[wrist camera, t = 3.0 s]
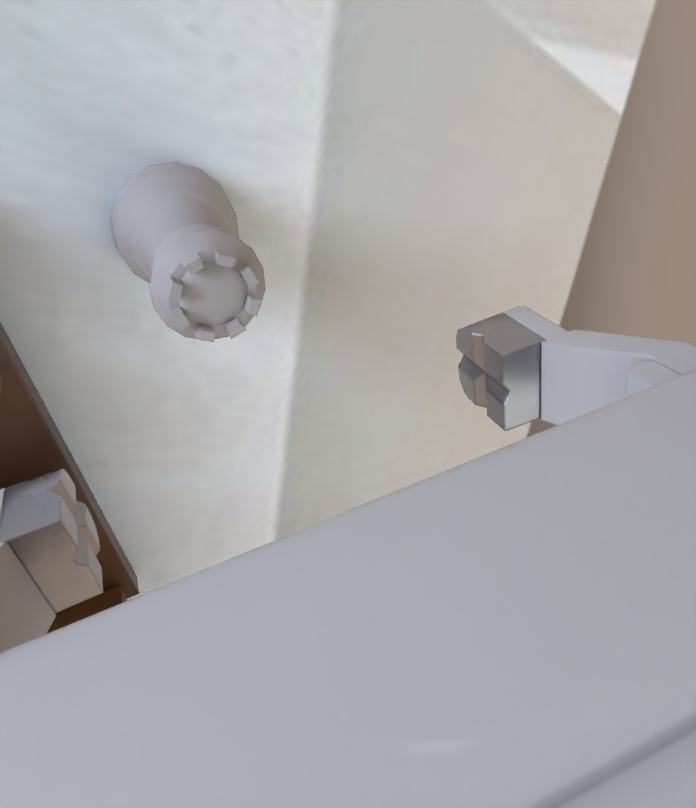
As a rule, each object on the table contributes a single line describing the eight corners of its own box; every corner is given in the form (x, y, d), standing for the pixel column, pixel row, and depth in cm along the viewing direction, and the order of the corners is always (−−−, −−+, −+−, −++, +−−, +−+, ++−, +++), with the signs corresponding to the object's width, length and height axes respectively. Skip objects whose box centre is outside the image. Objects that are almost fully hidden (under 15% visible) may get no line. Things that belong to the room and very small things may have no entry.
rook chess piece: (252, 195, 24) (322, 259, 18) (202, 297, 25) (251, 392, 19) (138, 135, 22) (172, 185, 15) (90, 251, 23) (103, 342, 17)
